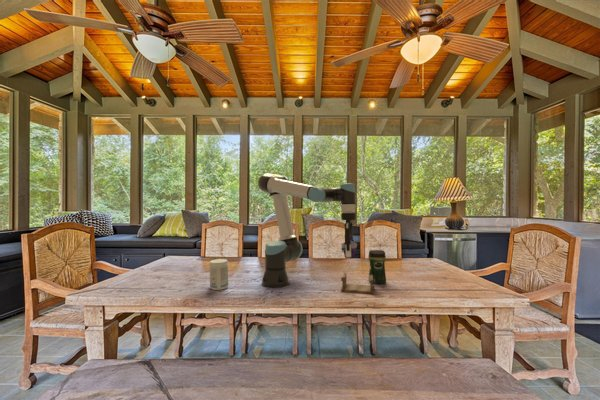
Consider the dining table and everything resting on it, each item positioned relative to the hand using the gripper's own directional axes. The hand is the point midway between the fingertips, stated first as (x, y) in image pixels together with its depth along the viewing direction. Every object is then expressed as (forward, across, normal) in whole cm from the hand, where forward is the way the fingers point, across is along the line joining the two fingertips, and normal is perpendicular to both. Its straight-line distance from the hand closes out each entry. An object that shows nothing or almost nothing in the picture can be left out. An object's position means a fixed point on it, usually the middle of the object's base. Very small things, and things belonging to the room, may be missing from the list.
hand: (349, 255), depth 146 cm
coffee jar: (+19, +18, -13) cm, 29 cm away
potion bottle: (+1, 0, 0) cm, 1 cm away
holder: (+18, +2, -4) cm, 19 cm away
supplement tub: (+17, -16, +69) cm, 73 cm away
